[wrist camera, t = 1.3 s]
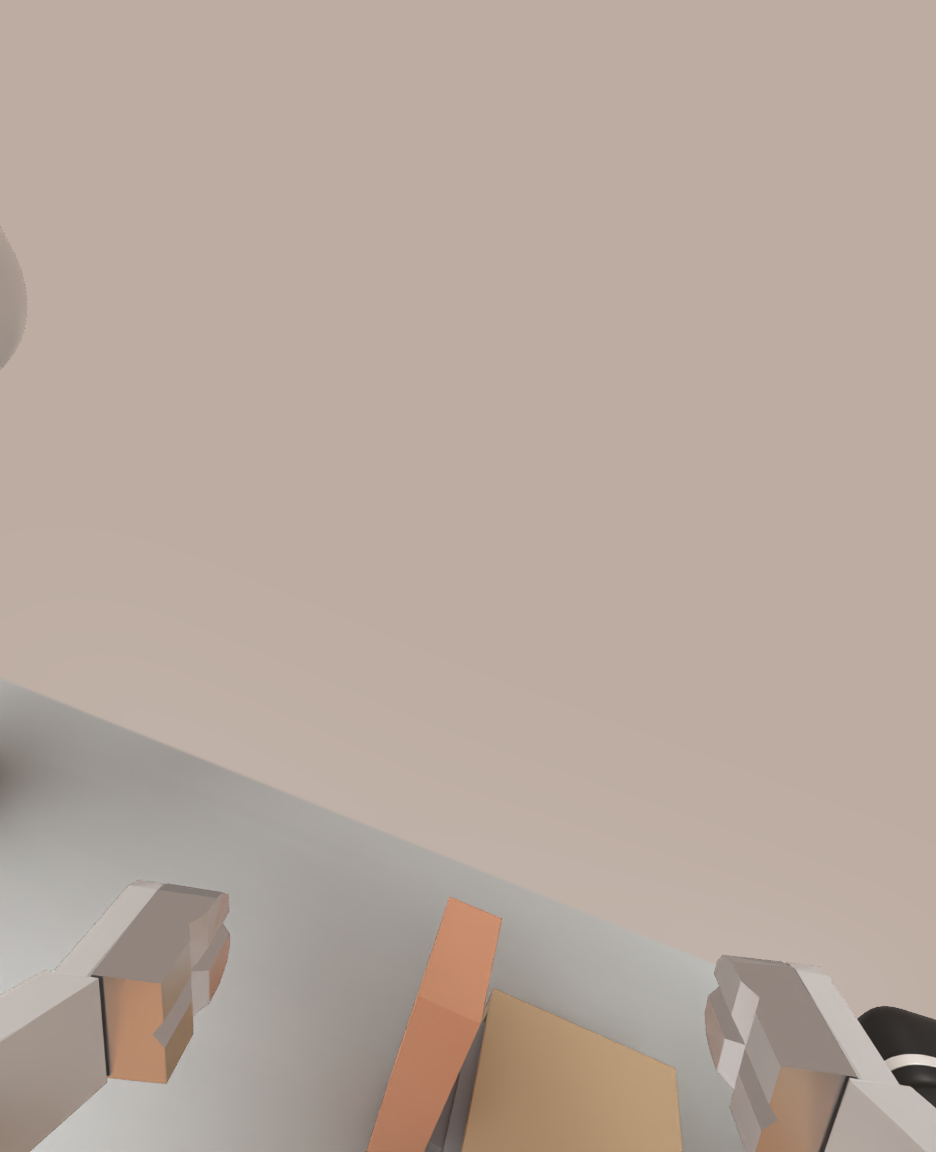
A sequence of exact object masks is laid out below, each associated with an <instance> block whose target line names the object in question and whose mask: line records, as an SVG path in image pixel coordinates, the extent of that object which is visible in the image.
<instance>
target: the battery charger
mask: <svg viewBox="0 0 936 1152" xmlns="http://www.w3.org/2000/svg"><path fill="white" fill-rule="evenodd" d="M857 1020H858V1021H859V1023H860V1024H861V1026H862V1027H863V1029H864V1030H865V1032H866V1034H867V1035H868V1037H869V1038H870V1040H871V1041H872V1043H873V1044H874V1046H875V1047H876V1049H877V1051H878V1052H879V1054H880V1055H881V1057H882V1058H883V1060H884V1061H885V1063H886V1064H887V1066H888V1068H889V1069H890V1071H891V1072H892V1074H893V1075H894V1077H895V1078H896V1080H897V1081H898V1083H899V1084H900V1085H904V1086H910V1087H912V1088H913V1089H914V1090H915V1091H916V1092H918V1093H919V1094H920V1095H921V1096H922V1097H923V1098H925V1099H926V1100H927V1101H928V1102H929V1103H930V1104H932V1105H933V1106H934V1107H935V1108H936V1020H935V1019H931V1018H928V1017H925V1016H922V1015H919V1014H916V1013H912V1012H909V1011H906V1010H903V1009H899V1008H895V1007H888V1006H882V1007H876V1008H873V1009H870V1010H869V1011H867V1012H865V1013H864V1014H863V1015H861V1016H860V1017H859V1018H858V1019H857Z"/></svg>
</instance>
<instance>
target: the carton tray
mask: <svg viewBox="0 0 936 1152" xmlns="http://www.w3.org/2000/svg"><path fill="white" fill-rule="evenodd" d="M501 921H502V918H499V917H497V916H494V915H492V914H490V913H487V912H485V911H483V910H480V909H478V908H475V907H473V906H471V905H468V904H466V903H464V902H461V901H459V900H456V899H454V898H452V897H449V900H448V903H447V906H446V909H445V912H444V915H443V918H442V921H441V924H440V927H439V930H438V933H437V936H436V939H435V942H434V945H433V948H432V951H431V954H430V957H429V960H428V963H427V966H426V969H425V972H424V975H423V978H422V981H421V984H420V987H419V990H418V993H417V996H416V999H415V1002H414V1005H413V1008H412V1011H411V1014H410V1017H409V1020H408V1023H407V1026H406V1029H405V1032H404V1035H403V1038H402V1041H401V1044H400V1047H399V1050H398V1053H397V1056H396V1059H395V1063H394V1066H393V1069H392V1072H391V1075H390V1078H389V1082H388V1085H387V1088H386V1091H385V1094H384V1097H383V1101H382V1104H381V1107H380V1110H379V1113H378V1116H377V1120H376V1123H375V1126H374V1129H373V1132H372V1135H371V1139H370V1142H369V1145H368V1148H367V1151H366V1152H460V1151H461V1146H462V1141H463V1136H464V1131H465V1126H466V1120H467V1115H468V1110H469V1105H470V1100H471V1095H472V1090H473V1085H474V1079H475V1074H476V1069H477V1064H478V1059H479V1054H480V1049H481V1044H482V1039H483V1033H484V1028H485V1023H484V1022H482V1021H481V1019H482V1014H483V1009H484V1005H485V1000H486V995H487V990H488V985H489V980H490V975H491V970H492V965H493V960H494V955H495V950H496V945H497V940H498V936H499V931H500V926H501Z"/></svg>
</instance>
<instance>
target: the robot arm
mask: <svg viewBox="0 0 936 1152" xmlns="http://www.w3.org/2000/svg"><path fill="white" fill-rule="evenodd" d="M26 317H27V296H26V288H25V284H24V278H23V274H22V271H21V268H20V265H19V263H18V260H17V258H16V255H15V253H14V251H13V249H12V247H11V245H10V243H9V241H8V239H7V237H6V236H5V234H4V232H3V231H2V229H1V227H0V370H1V369H2V368H3V367H4V366H5V365H6V364H7V362H8V361H9V360H10V359H11V357H12V356H13V354H14V353H15V351H16V349H17V347H18V345H19V343H20V342H21V339H22V336H23V333H24V329H25V325H26ZM228 913H229V897H228V894H225V893H223V892H217V891H211V890H204V889H198V888H192V887H185V886H179V885H173V884H163V883H156V882H150V881H143V880H137V881H136V882H134V883H132V884H131V885H129V886H128V887H127V888H126V889H125V890H124V891H123V892H122V893H121V894H120V896H119V897H118V898H117V899H116V900H115V901H114V902H113V904H112V905H111V906H110V907H109V908H108V909H107V910H106V912H105V913H104V914H103V915H102V916H101V917H100V919H99V920H98V921H97V922H96V923H95V924H94V925H93V927H92V928H91V929H90V930H89V931H88V932H87V933H86V935H85V936H84V937H83V938H82V939H81V940H80V941H79V943H78V944H77V945H76V946H75V947H74V948H73V949H72V951H71V952H70V953H69V954H68V955H67V956H66V957H65V959H64V960H63V961H62V962H61V963H60V964H59V965H58V967H57V968H56V969H55V970H54V971H42V972H40V973H38V974H37V975H35V976H33V977H31V978H30V979H28V980H26V981H24V982H23V983H21V984H19V985H17V986H16V987H14V988H12V989H11V990H9V991H7V992H5V993H4V994H2V995H0V1152H30V1151H31V1150H32V1149H33V1148H34V1147H36V1146H37V1145H38V1144H39V1143H40V1142H41V1141H42V1140H43V1139H44V1138H46V1137H47V1136H48V1135H49V1134H50V1133H51V1132H52V1131H53V1130H55V1129H56V1128H57V1127H58V1126H59V1125H60V1124H61V1123H62V1122H63V1121H65V1120H66V1119H67V1118H68V1117H69V1116H70V1115H71V1114H72V1113H74V1112H75V1111H76V1110H77V1109H78V1108H79V1107H80V1106H81V1105H83V1104H84V1103H85V1102H86V1101H87V1100H88V1099H89V1098H90V1097H91V1096H93V1095H94V1094H95V1093H96V1092H97V1091H98V1090H99V1089H100V1088H102V1087H103V1086H104V1085H105V1084H106V1083H107V1078H113V1079H123V1080H133V1081H142V1082H152V1083H162V1084H166V1083H167V1082H168V1080H169V1078H170V1076H171V1074H172V1072H173V1070H174V1069H175V1067H176V1065H177V1063H178V1061H179V1059H180V1057H181V1056H182V1054H183V1052H184V1050H185V1048H186V1046H187V1044H188V1042H189V1041H190V1039H191V1037H192V1035H193V1015H194V1014H196V1013H197V1012H198V1011H200V1010H201V1009H202V1008H204V1007H205V1006H206V1005H207V1004H209V1003H210V1001H211V999H212V997H213V995H214V993H215V991H216V989H217V987H218V985H219V983H220V980H221V977H222V975H223V972H224V969H225V966H226V963H227V958H228V952H229V946H230V933H229V932H228V931H227V929H226V928H225V927H224V925H223V924H222V923H223V921H224V920H225V918H226V916H227V914H228ZM714 975H715V977H716V979H717V982H718V984H719V987H718V988H717V989H716V990H715V991H713V992H712V993H711V994H710V995H708V1000H707V1005H706V1010H705V1023H706V1036H707V1040H708V1045H709V1049H710V1053H711V1056H712V1059H713V1062H714V1064H715V1067H716V1070H717V1072H718V1073H719V1074H720V1075H721V1076H722V1078H723V1079H724V1080H725V1081H726V1082H727V1083H728V1084H729V1086H730V1087H731V1088H732V1089H733V1090H734V1091H733V1095H732V1099H731V1103H730V1110H731V1112H732V1115H733V1118H734V1121H735V1123H736V1126H737V1129H738V1132H739V1134H740V1137H741V1140H742V1143H743V1145H744V1148H745V1151H746V1152H936V1108H935V1107H934V1106H933V1105H932V1104H930V1103H929V1102H928V1101H927V1100H926V1099H925V1098H923V1097H922V1096H921V1095H920V1094H919V1093H918V1092H916V1091H915V1090H914V1089H913V1088H912V1087H910V1086H904V1085H900V1084H899V1083H898V1081H897V1080H896V1078H895V1077H894V1075H893V1074H892V1072H891V1071H890V1069H889V1068H888V1066H887V1064H886V1063H885V1061H884V1060H883V1058H882V1057H881V1055H880V1054H879V1052H878V1051H877V1049H876V1047H875V1046H874V1044H873V1043H872V1041H871V1040H870V1038H869V1037H868V1035H867V1034H866V1032H865V1030H864V1029H863V1027H862V1026H861V1024H860V1023H859V1021H858V1020H857V1018H856V1017H855V1015H854V1014H853V1012H852V1010H851V1009H850V1008H849V1006H848V1004H847V1003H846V1001H845V1000H844V998H843V997H842V995H841V993H840V992H839V990H838V989H837V987H836V986H835V984H834V983H833V981H832V980H831V978H830V976H829V975H828V974H827V973H826V972H825V971H824V970H823V969H822V968H820V967H819V966H812V965H803V964H795V963H783V962H780V961H771V960H762V959H754V958H745V957H736V956H727V955H722V956H721V957H720V958H719V959H718V961H717V964H716V968H715V971H714Z"/></svg>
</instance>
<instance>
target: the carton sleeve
mask: <svg viewBox="0 0 936 1152" xmlns="http://www.w3.org/2000/svg"><path fill="white" fill-rule="evenodd" d="M481 1021H482V1022H484V1023H485V1028H484V1033H483V1039H482V1044H481V1049H480V1054H479V1059H478V1064H477V1069H476V1074H475V1079H474V1085H473V1090H472V1095H471V1100H470V1105H469V1110H468V1115H467V1120H466V1126H465V1131H464V1136H463V1141H462V1146H461V1151H460V1152H683V1150H682V1139H681V1127H680V1116H679V1105H678V1094H677V1083H676V1072H675V1068H673V1067H671V1066H669V1065H666V1064H664V1063H662V1062H660V1061H657V1060H655V1059H653V1058H651V1057H648V1056H646V1055H644V1054H641V1053H639V1052H637V1051H635V1050H632V1049H630V1048H628V1047H626V1046H623V1045H621V1044H619V1043H617V1042H614V1041H612V1040H610V1039H608V1038H605V1037H603V1036H601V1035H598V1034H596V1033H594V1032H592V1031H589V1030H587V1029H585V1028H583V1027H580V1026H578V1025H576V1024H574V1023H571V1022H569V1021H567V1020H564V1019H562V1018H560V1017H558V1016H555V1015H553V1014H551V1013H549V1012H546V1011H544V1010H542V1009H540V1008H537V1007H535V1006H533V1005H531V1004H528V1003H526V1002H524V1001H521V1000H519V999H517V998H515V997H512V996H510V995H508V994H506V993H503V992H501V991H499V990H497V989H493V991H492V994H491V996H490V998H489V1000H488V1003H487V1005H486V1007H485V1010H484V1012H483V1014H482V1019H481Z"/></svg>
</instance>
